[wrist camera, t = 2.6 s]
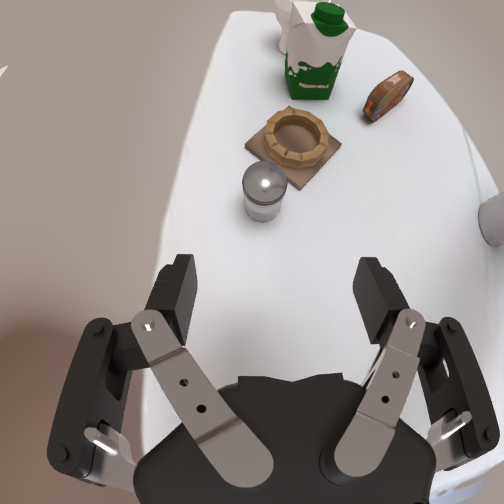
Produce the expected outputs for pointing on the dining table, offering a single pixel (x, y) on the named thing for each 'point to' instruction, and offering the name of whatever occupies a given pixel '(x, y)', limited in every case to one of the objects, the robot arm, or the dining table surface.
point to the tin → (387, 95)
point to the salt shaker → (264, 190)
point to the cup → (286, 19)
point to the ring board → (294, 144)
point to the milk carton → (315, 48)
